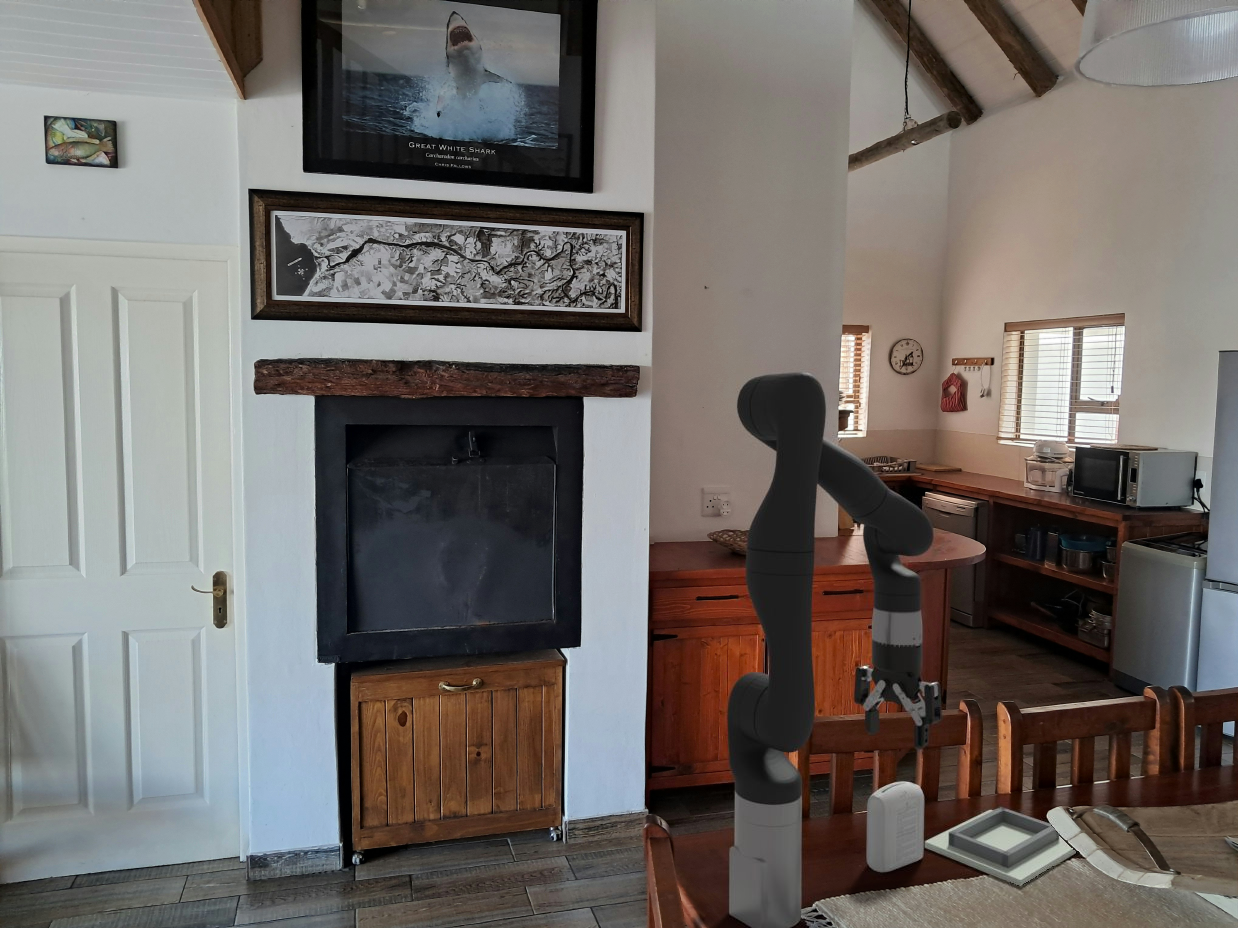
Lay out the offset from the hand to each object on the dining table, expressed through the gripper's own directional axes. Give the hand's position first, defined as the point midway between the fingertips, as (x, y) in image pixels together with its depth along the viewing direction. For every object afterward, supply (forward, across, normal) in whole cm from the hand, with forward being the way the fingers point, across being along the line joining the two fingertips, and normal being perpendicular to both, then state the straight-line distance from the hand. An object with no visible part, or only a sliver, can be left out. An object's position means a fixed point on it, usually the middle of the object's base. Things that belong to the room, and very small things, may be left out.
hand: (896, 740), depth 139 cm
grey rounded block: (+20, 0, 0) cm, 20 cm away
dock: (+19, +8, +18) cm, 28 cm away
